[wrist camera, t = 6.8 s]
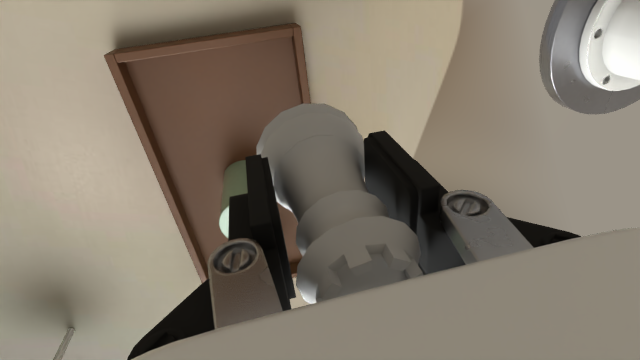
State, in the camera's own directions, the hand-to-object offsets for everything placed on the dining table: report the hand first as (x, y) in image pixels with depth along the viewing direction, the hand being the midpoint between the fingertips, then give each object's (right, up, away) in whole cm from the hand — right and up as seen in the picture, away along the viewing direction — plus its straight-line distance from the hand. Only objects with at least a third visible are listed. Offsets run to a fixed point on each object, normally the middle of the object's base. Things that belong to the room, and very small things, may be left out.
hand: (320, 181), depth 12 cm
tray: (-7, +1, +19) cm, 20 cm away
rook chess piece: (-1, +1, +2) cm, 3 cm away
